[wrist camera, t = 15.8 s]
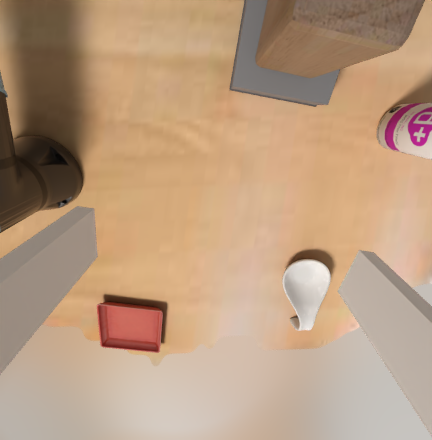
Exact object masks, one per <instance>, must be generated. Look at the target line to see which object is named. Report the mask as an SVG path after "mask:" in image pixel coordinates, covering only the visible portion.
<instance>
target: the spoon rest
mask: <svg viewBox="0 0 432 440" xmlns="http://www.w3.org/2000/svg"><path fill="white" fill-rule="evenodd" d="M330 280H331V275H330V271H329V269H328V267H327V266H326V265H325V264H323V263H322V262H320V261H318V260H314V259H302V260H298V261H296V262H294V263H292V264H291V265H289V266H288V267H287V269H286V270H285V272H284V275H283V278H282V283H283V288H284V291H285V293H286V295H287V297H288V299H289V301H290V302H291V304H292V306H293V308H294V309H295V311H296V313H297V316H298V317H297V318H295V317H294V318H291V319H290V322H291V324H292V325H293V327H294V328H295V329H296V330H298V331H300V330H311V329H312V327H313V325H314V322H315V318H316V315H317V312H318V310H319V307H320V305H321V303H322V301H323V299H324V297H325V295H326V293H327V290H328V287H329V285H330Z"/></svg>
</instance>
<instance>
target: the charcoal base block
mask: <svg viewBox="0 0 432 440" xmlns="http://www.w3.org/2000/svg"><path fill="white" fill-rule="evenodd" d="M267 1H268V0H245V2H244V8H243V14H242V19H241V25H240V31H239V37H238V43H237V49H236V55H235V60H234V66H233V72H232V78H231V84H230V90H232V91H237V92H242V93H248V94H253V95H258V96H263V97H268V98H273V99H278V100H283V101H289V102H294V103H299V104H304V105H309V106H314V107H316V106H317V105H328V103H329V100H330V97H331V94H332V91H333V89H334V86H335V83H336V80H337V77H338V74H339V71H340V69H338V70H335V71H332V72H329V73H326V74H323V75H320V76H317V77H314V78H306V77H302V76H297V75H293V74H288V73H284V72H279V71H275V70H270V69H266V68H261V67H259V66H258V65H257V64H256V61H255V56H256V52H257V47H258V43H259V38H260V33H261V29H262V24H263V19H264V15H265V10H266V5H267Z"/></svg>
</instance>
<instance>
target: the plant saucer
mask: <svg viewBox="0 0 432 440" xmlns="http://www.w3.org/2000/svg"><path fill="white" fill-rule="evenodd" d="M97 314H98V325H99V335H100V345H101V346H102V347H106V348H116V349H125V350H135V351H146V352H155V353H158V352H160V345H161V331H162V318H163V312H162V311H161V310H160V309H159V308H157V307H150V306H140V305H132V304H123V303H115V302H105V303H100V304H98V305H97Z"/></svg>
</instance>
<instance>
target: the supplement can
mask: <svg viewBox="0 0 432 440" xmlns="http://www.w3.org/2000/svg"><path fill="white" fill-rule="evenodd" d="M377 140H378V142H379V144H380V145H381V146H382V147H383V148H386V149H389V150H393V151H398V152H402V153H406V154H410V155H414V156H419V157H423V158H427V159H431V160H432V103H408V104H400V105H398V106H396V107H394V108H392V109H391V110H389V111H388V112H387V113H386V114H385V115H384V116H383V118H382V119H381V121H380V122H379V125H378V128H377Z"/></svg>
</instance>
